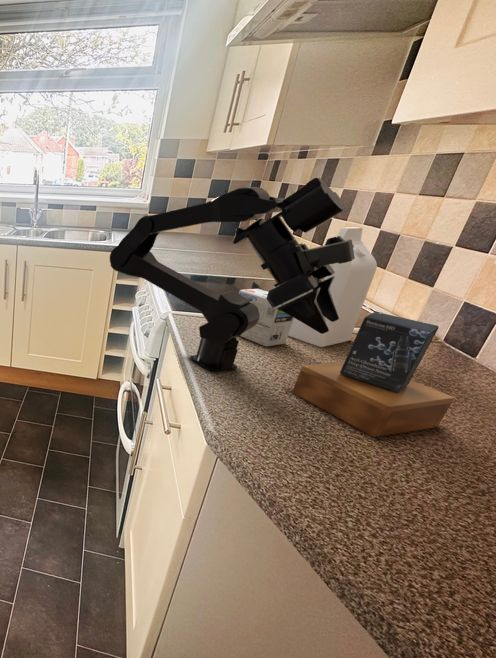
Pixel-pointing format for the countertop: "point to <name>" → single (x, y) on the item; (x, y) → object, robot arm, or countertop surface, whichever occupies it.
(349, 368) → the box
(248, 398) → the countertop surface
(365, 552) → the countertop surface
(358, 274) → the milk
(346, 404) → the wooden plinth
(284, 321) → the light bulb box
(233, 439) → the countertop surface
